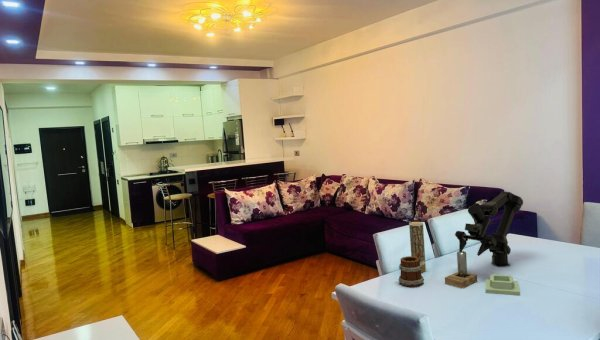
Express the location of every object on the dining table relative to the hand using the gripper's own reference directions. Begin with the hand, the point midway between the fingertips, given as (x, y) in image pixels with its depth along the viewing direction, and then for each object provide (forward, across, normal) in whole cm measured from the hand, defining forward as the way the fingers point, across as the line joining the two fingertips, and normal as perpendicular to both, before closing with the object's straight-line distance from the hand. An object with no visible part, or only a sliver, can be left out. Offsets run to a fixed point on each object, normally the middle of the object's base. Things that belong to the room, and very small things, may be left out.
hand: (468, 253), depth 193 cm
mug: (+24, -17, -6) cm, 30 cm away
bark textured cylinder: (+13, -24, +4) cm, 28 cm away
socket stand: (+10, +17, +7) cm, 21 cm away
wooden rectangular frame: (+14, 0, +4) cm, 14 cm away
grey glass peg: (+13, 0, +5) cm, 13 cm away
